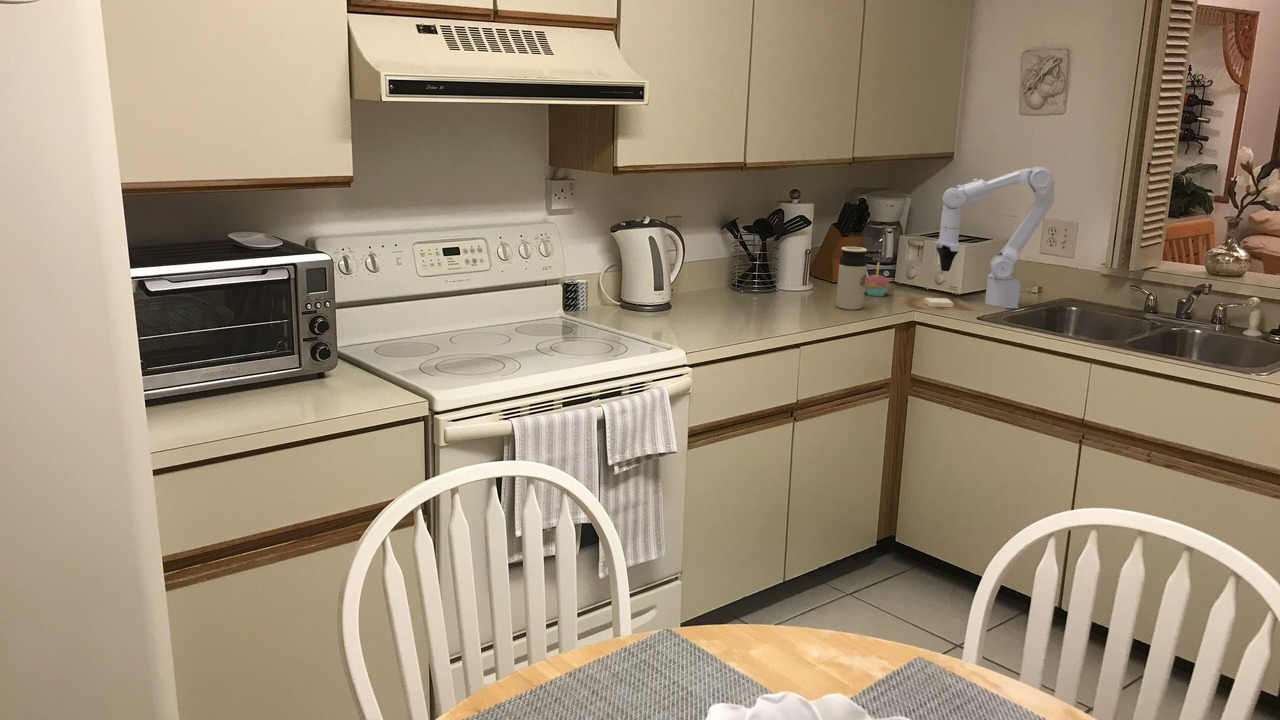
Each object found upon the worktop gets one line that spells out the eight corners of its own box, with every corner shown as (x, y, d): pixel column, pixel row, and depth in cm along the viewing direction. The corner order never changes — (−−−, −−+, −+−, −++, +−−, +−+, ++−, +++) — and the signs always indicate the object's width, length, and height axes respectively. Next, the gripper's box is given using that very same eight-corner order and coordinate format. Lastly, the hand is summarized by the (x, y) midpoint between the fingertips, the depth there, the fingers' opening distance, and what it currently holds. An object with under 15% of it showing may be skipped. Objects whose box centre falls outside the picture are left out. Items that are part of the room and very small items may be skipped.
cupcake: (889, 300, 320) (893, 262, 317) (862, 298, 321) (865, 261, 318) (887, 295, 328) (891, 258, 325) (860, 293, 329) (864, 256, 326)
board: (958, 301, 322) (958, 298, 322) (977, 313, 305) (977, 310, 304) (895, 299, 322) (896, 296, 321) (910, 311, 304) (911, 308, 304)
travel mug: (830, 306, 307) (835, 247, 303) (846, 303, 312) (851, 245, 308) (851, 311, 301) (856, 251, 297) (867, 308, 307) (873, 249, 302)
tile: (946, 298, 313) (953, 302, 307) (946, 303, 314) (952, 307, 307) (924, 297, 313) (930, 302, 307) (923, 302, 314) (929, 307, 307)
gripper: (930, 224, 321) (925, 266, 324) (944, 230, 307) (939, 274, 310) (952, 224, 321) (947, 267, 324) (967, 230, 307) (962, 275, 310)
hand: (945, 270), depth 317 cm, fingers closed
